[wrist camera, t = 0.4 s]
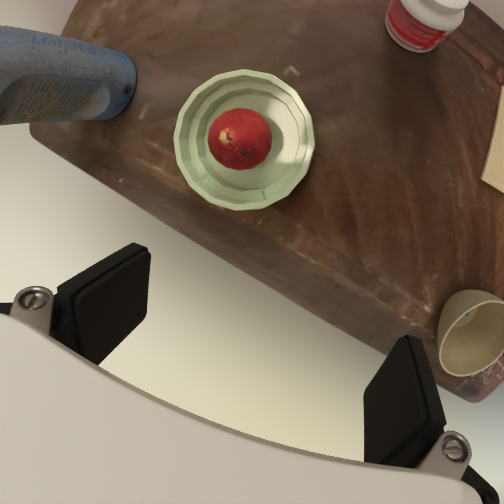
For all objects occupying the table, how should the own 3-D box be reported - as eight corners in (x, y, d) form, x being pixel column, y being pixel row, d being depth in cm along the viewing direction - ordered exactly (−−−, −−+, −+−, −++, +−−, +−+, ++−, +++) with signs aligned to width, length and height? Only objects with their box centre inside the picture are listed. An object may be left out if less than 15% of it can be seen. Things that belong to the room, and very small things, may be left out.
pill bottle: (429, 64, 22) (471, 31, 12) (377, 36, 22) (396, -11, 12) (442, 24, 19) (481, -16, 9) (392, -3, 20) (412, -54, 10)
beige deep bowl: (410, 307, 31) (424, 343, 25) (473, 255, 27) (500, 281, 20) (443, 353, 32) (457, 389, 25) (500, 309, 28) (522, 339, 21)
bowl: (209, 71, 28) (192, 61, 24) (330, 97, 26) (331, 89, 22) (183, 182, 33) (163, 188, 29) (294, 217, 31) (289, 228, 27)
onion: (289, 146, 28) (276, 146, 21) (244, 178, 31) (217, 188, 23) (256, 101, 27) (231, 87, 20) (213, 134, 30) (177, 133, 22)
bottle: (100, 135, 33) (-118, 180, 6) (77, 85, 32) (-115, 97, 4) (150, 87, 30) (-109, 80, 3) (120, 38, 28) (-89, 7, 1)
